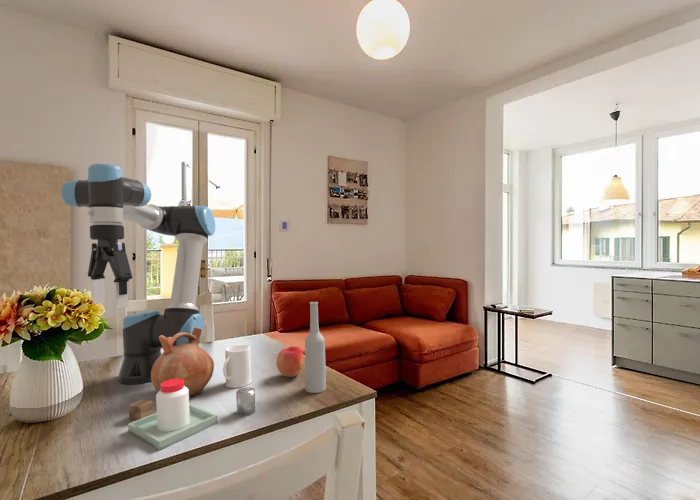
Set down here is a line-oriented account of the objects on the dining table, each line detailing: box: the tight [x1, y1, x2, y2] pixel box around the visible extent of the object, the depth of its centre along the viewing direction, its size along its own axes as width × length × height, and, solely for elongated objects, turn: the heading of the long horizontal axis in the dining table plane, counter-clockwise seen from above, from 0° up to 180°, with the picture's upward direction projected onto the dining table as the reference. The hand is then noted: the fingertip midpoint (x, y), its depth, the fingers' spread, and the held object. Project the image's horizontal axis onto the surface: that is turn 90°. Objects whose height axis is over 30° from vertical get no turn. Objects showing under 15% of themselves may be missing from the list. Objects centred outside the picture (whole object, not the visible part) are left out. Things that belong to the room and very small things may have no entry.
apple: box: [275, 346, 304, 378], centre depth 131 cm, size 10×10×10 cm
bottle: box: [304, 301, 327, 394], centre depth 119 cm, size 7×7×28 cm
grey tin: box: [235, 386, 256, 417], centre depth 104 cm, size 5×5×6 cm
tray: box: [127, 403, 219, 451], centre depth 96 cm, size 15×15×2 cm
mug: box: [222, 344, 253, 389], centre depth 124 cm, size 12×8×12 cm
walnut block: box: [128, 399, 154, 422], centre depth 102 cm, size 4×4×4 cm
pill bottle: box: [155, 379, 190, 432], centre depth 96 cm, size 8×8×11 cm
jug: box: [151, 327, 215, 398], centre depth 118 cm, size 18×18×20 cm
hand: (109, 305), depth 98 cm, fingers open, 13 cm apart
